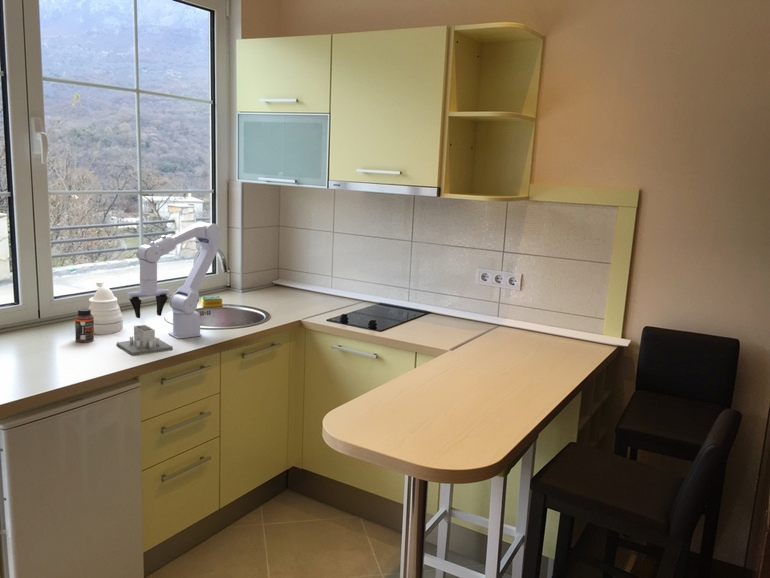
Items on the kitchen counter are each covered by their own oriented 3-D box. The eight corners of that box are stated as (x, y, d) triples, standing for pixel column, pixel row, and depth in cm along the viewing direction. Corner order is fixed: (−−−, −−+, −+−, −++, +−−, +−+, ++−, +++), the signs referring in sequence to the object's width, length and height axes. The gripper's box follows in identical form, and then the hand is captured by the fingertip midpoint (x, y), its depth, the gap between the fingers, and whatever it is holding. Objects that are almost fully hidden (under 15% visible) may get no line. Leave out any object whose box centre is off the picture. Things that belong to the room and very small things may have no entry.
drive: (154, 346, 223) (154, 329, 222) (143, 348, 220) (143, 330, 219) (145, 341, 229) (145, 324, 227) (134, 342, 226) (134, 325, 225)
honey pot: (77, 330, 240) (76, 282, 237) (104, 323, 252) (103, 278, 249) (104, 335, 236) (103, 287, 232) (130, 328, 248) (129, 282, 244)
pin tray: (155, 340, 234) (155, 330, 234) (172, 349, 224) (172, 339, 224) (116, 345, 225) (116, 335, 224) (132, 355, 215) (132, 345, 214)
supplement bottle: (86, 343, 225) (86, 312, 222) (71, 341, 226) (70, 310, 224) (97, 339, 230) (97, 308, 228) (82, 337, 231) (82, 306, 229)
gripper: (163, 275, 235) (163, 311, 238) (123, 278, 225) (123, 316, 228) (171, 279, 230) (171, 315, 232) (131, 281, 220) (131, 320, 223)
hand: (148, 316), depth 230 cm, fingers open, 7 cm apart
